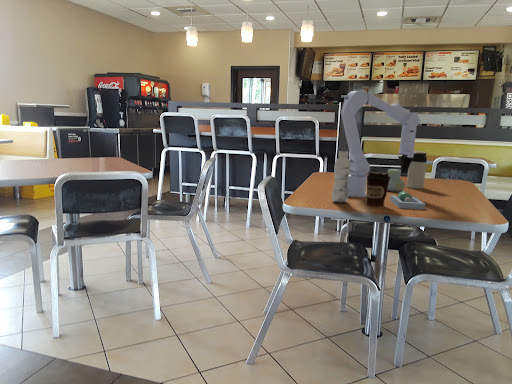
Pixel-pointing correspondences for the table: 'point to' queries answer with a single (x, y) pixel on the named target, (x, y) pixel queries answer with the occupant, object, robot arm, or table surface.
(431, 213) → the table surface
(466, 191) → the table surface
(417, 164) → the travel mug
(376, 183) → the coffee cup
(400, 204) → the cradle
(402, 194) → the bottle
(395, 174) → the air freshener
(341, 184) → the plastic bottle
